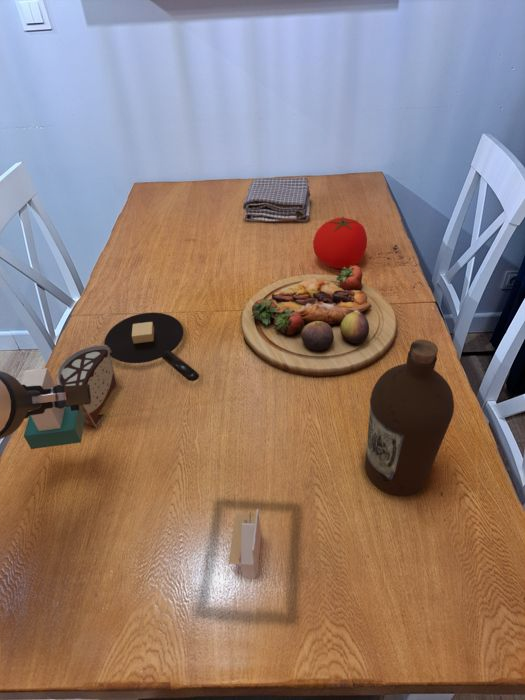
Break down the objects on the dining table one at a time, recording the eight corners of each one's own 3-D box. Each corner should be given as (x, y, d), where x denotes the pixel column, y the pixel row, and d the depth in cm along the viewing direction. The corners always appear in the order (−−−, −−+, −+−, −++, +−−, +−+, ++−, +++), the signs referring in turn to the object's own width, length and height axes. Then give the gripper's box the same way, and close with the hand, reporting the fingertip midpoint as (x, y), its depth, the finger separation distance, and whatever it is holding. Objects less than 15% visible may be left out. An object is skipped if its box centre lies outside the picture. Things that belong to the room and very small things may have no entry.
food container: (92, 379, 93) (76, 339, 86) (122, 383, 92) (108, 343, 85) (59, 430, 84) (39, 389, 77) (92, 435, 83) (74, 394, 76)
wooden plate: (325, 266, 119) (326, 236, 113) (429, 331, 99) (437, 298, 93) (212, 317, 106) (208, 285, 100) (307, 404, 86) (308, 370, 80)
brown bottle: (402, 433, 80) (431, 311, 64) (446, 483, 73) (491, 360, 56) (347, 457, 77) (361, 335, 60) (387, 512, 70) (416, 390, 53)
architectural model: (230, 577, 64) (225, 550, 59) (237, 527, 69) (233, 498, 64) (256, 579, 64) (253, 551, 59) (261, 529, 69) (259, 500, 64)
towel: (251, 200, 148) (249, 174, 143) (311, 201, 146) (312, 175, 141) (243, 224, 137) (241, 197, 132) (308, 225, 135) (309, 198, 130)
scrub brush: (81, 442, 70) (56, 389, 63) (31, 449, 69) (0, 396, 62) (85, 416, 74) (62, 363, 66) (38, 422, 73) (9, 369, 66)
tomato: (374, 258, 121) (379, 217, 113) (345, 282, 113) (349, 240, 106) (333, 244, 127) (336, 204, 119) (303, 266, 119) (304, 225, 112)
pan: (91, 342, 101) (88, 333, 100) (156, 308, 109) (154, 300, 107) (161, 408, 87) (159, 399, 85) (230, 364, 94) (229, 354, 93)
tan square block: (153, 341, 98) (151, 333, 97) (133, 343, 98) (131, 336, 97) (154, 328, 101) (152, 321, 100) (134, 331, 101) (132, 323, 100)
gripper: (-126, 458, 48) (-12, 433, 71) (80, 430, 50) (126, 415, 72) (-133, 382, 48) (-17, 381, 71) (72, 357, 50) (121, 364, 73)
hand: (55, 398), depth 72 cm, fingers closed on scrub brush, 7 cm apart
